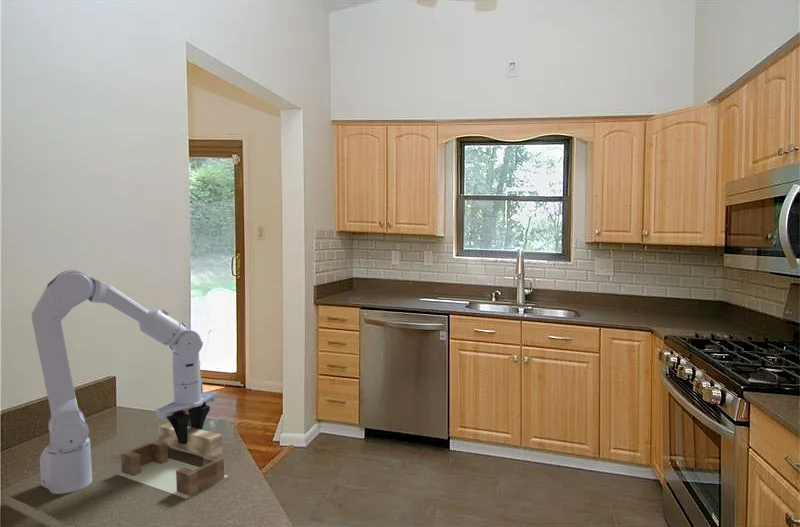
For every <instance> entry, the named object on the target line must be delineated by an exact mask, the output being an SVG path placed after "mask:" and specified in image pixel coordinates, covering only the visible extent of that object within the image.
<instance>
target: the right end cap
mask: <svg viewBox="0 0 800 527" xmlns="http://www.w3.org/2000/svg"><path fill="white" fill-rule="evenodd" d="M199 467H200V468H198V469H196V470H191V469H187V468H184V467H183V468H181V469H179V470H177V471H176V483H177V491H178V492H181V493H183V494H186V495H189V496H190V497H191V495H192V496H193V494H194V495H195V493H196V494H197V492H198V493H199V492H202V491H203V490H205V489H207V488H209V487H211V486H212V484H213V485H215V484H217V483H218V482H220V481H222V480H224V479H225V478H224V475H225V462H224V458H222V457H219V456H217V455H216V456H212V455H209V456H205V457H203V465H202V466H199ZM223 478H224V479H223ZM214 483H215V484H214ZM210 485H211V486H210ZM208 486H209V487H208ZM206 487H207V488H206Z"/></svg>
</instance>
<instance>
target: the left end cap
mask: <svg viewBox="0 0 800 527" xmlns="http://www.w3.org/2000/svg"><path fill="white" fill-rule="evenodd" d="M168 458H169V452H168V445H167V443H165V442H161V441H159V440H157V439H155V440H152V441H150V442H147V443H145V444H142V445H140V446H136V447H134V448H132V449H130V450H127V451H124V452H122V453H120V459H121V472H123V473H126V474H128V475H131V476H135V475H137V474H140V473H141V466H143V465H145V464H148V463H150V462H152V461H153V462H156V463H159V464H162V463H165V462H167V461H168Z"/></svg>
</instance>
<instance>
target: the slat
mask: <svg viewBox="0 0 800 527" xmlns="http://www.w3.org/2000/svg"><path fill="white" fill-rule="evenodd" d="M222 436H223V435H222V434H220V433H218V432H217V433H216V432H212V431H209V430H205V429H204V430H201V429H196V428H192V427H188V428H187V444H180V443H179V442H178V439H177V436H176V433H175V430H174V428H173V426H172V425H171V423H170V422H169V421H168V422H166V423H163V424H161V425H158V441H161V442H165V443H167V447H168V446H169V447H173V448H175V449H180V450H183V451H186V452H191V453H194V454H197V455H201V456H205V457H207V456H209V455H212V456H216V457H217V456H218V455H220V454H222V453H223V437H222Z"/></svg>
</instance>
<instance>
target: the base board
mask: <svg viewBox="0 0 800 527" xmlns="http://www.w3.org/2000/svg"><path fill="white" fill-rule="evenodd" d="M183 467H184V468H187V469H191V470H196V469H198V468H200V467H201V466H195V465H192V464H190V463H186V462H183V461H181V460H176V459H173V458H169V457H168V461H167V462H165V463H162V464H159V463H156V462H153V461H152V462H150V463H148V464H145V465H143V466H141V473H140V474H137V475H135V476H131V475H128V474H126V473H123V472H122V471H121V472H120V473H117V474H116V475H117V476H121V477H124V478H127V479H129V480H131V481H135V482H138V483H141V484H142V485H143V484H144V485H147V486H149V487H151V488H154V489H158V490H161V491H164V492H166V493H169V494H172V495H175V496H177V497H180V498H183V499H188V498H190V497H191V496H193V495H195V494H197V493H199V492H197V493H195V494H193V495H191V496H189V495H186V494H183V493H181V492H178V491H177V483H176V471H177V470H179V469H181V468H183ZM227 477H229V475H226V474H224V478H223V479H222V480H224V479H225V478H227ZM215 484H216V483H214V484H212V485H215ZM212 485H210V486H208V487H206V488H205V489H207V488H209V487H211V486H212Z"/></svg>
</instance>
